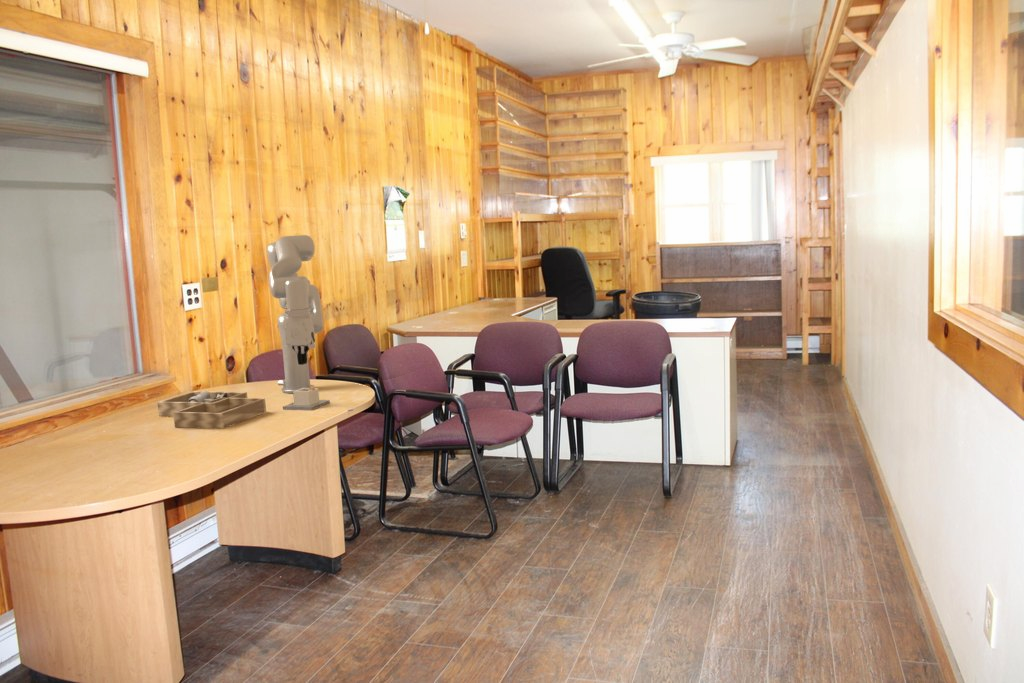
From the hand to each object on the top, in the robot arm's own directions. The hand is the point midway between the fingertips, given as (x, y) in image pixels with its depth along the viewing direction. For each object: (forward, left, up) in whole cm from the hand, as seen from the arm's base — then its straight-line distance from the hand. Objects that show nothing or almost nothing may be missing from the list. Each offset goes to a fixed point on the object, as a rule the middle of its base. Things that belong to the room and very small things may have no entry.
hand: (302, 363), depth 300 cm
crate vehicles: (-18, -24, -15) cm, 34 cm away
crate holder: (-35, -12, -15) cm, 40 cm away
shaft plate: (+1, -1, -15) cm, 15 cm away
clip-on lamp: (-35, -12, -15) cm, 40 cm away
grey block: (+1, -1, -14) cm, 14 cm away
